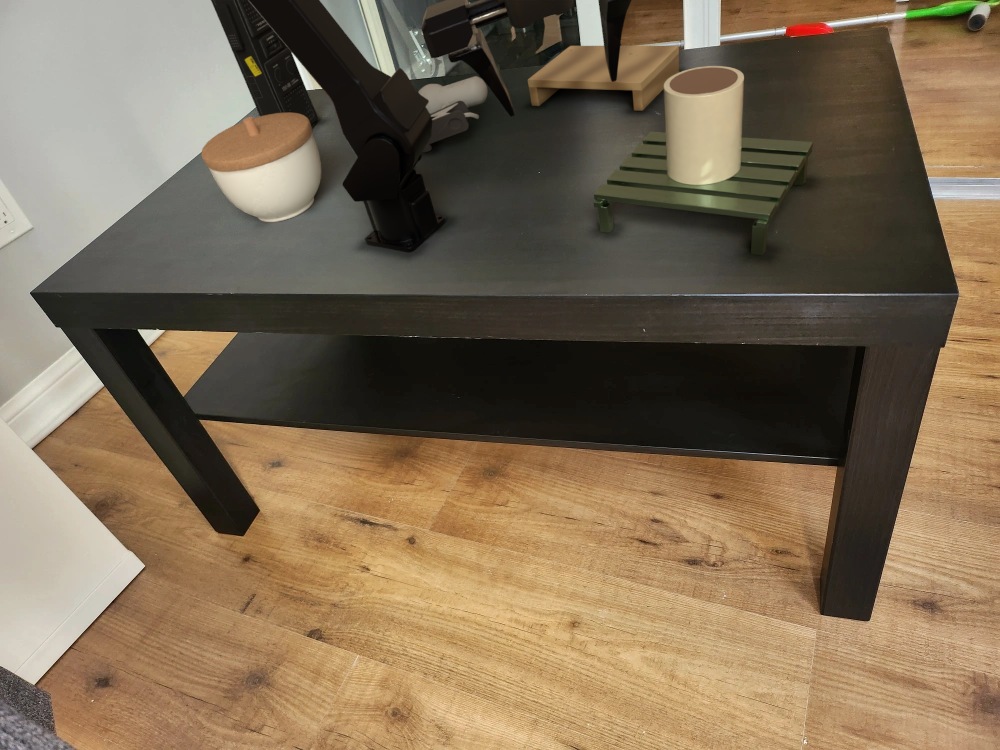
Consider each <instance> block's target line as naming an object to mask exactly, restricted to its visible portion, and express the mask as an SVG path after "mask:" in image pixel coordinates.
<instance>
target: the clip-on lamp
mask: <svg viewBox="0 0 1000 750" xmlns="http://www.w3.org/2000/svg"><path fill="white" fill-rule="evenodd" d="M488 91H489V90H488V85H487V84H486V83H485V81H484V80H483V79H482V78H481V77H480V76H476V75H475V76H470V77H468V78H465V79H461V80H459V81H456V82H453V83H450V84H446V85H444V86H443V85H441V84H439V83H428V84H425V85H424V86H423V87H421V88H420V89H419V90H418V93H419V94H420V95H422V96H423V97H425V98H426V99H428V101H429V103H428V104H427V105H426V108H427V110H428V111H429V113H430V115H431V118H432V121H433V123H432V135H431V137H430V139H429V142H428V143H427V145H426V146H425V148H424V150H423V151H422V153H427V152H430V151H432V148H433V146H432V145H433V143H435V142H438V141H442V140H444V139H446V138H449V137H452V136H455V135H458V134H460V133H463V132H466V131H468V129H469V126H470V124H469V121H468V120H470V118H473V119H475V120H479V118H480V115H479V114H477V113H474V112H471V111H470V110H469V109H468V108H472V107H475V106H477V105H478V106H479V105H481V104H484V103H485V101H487V100H486V99H487V97H488Z"/></svg>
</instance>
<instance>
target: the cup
mask: <svg viewBox="0 0 1000 750" xmlns="http://www.w3.org/2000/svg"><path fill="white" fill-rule="evenodd" d="M744 90H745V75H744V73H743V72H742V71H741V70H739V69H737V68H734V67H730V66H724V65H707V66H698V67H693V68H690V69H685V70H682V71H679V73H677V74H675V75H673V76H671V77H670V78H669V79H667V80H666V82H665V83H664V89H663V107H664V126H665V127H664V133H665V136H666V162H667V174H668V176H669V177H670V178H671V179H673V180H675V181H677V182H680V183H683V184H689V185H706V184H713V183H717V182H721V181H724V180H726V179H729V178H730V177H732V176H734V175H735V174H736V173H737V172H738V171H739V170H740V168H741V152H742V138H743V121H744V94H745V91H744Z"/></svg>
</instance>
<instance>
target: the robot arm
mask: <svg viewBox="0 0 1000 750" xmlns="http://www.w3.org/2000/svg"><path fill="white" fill-rule="evenodd" d="M248 1H249V2H250V3H251V4H252V6H253V7H254V8H255V9H256V10H257V12H258V13H259V14H260V15H261V16H262V17H263V19H264V20H265V21H266V22H267V23H268V25H269V26H270V27H271V28H272V29H273V31H274V32H275V33H276V34H277V35H278V37H279V38H280V39H281V40H282V41H283V43H284V44H285V45H286V46H287V47H288V49H289V50H290V51H291V52H292V55H293V57H294V58H296V60H297V61H298V62H299V63H300V64H301V66H302V67H303V68H304V69H305V70H306V72H307V73H308V74H309V75H310V76H311V78H313V81H315V82H316V83H317V84H318V86H319V87H320V88H321V90H323V92H324V93H325V94H326V95H327V96H328V98H329V99H330V101H331V102H332V104H333V108H334V111H335V113H336V117H337V120H338V123H339V126H340V129H341V133H342V135H343V138H344V139H345V140H346V142H347V144H348V146H349V147H350V149H351V150H352V152H353V153H354V155H355V157H356V159H355V160H354V162H353V165H352V166H351V168H350V169H349V171H348V173H347V174H346V176H345V178H344V180H343V181H342V187H343V189H345V191H346V192H347V194H348V195H349V196H350V198H351V199H352V200H353V201H354V202H357V203H359V202H362V203H363V205H364V207H365V211H366V213H367V217H368V219H369V222H370V224H371V228H372V230H373V231H371V233H370V234H368V235H367V236H366V237H365V238H364V241H365V243H366V244H367V245H371V246H377V247H382V248H386V249H393V250H398V251H403V252H406V253H407V252H408V253H409V252H412V251H414V250H416V249H417V248H418V247H419V246H420V245H421V244H422V243H423V242H424V241H425V240H427V239H428V238H429V237H430V236H431V235H432V234H433V233H434V232H435V231H437V229H439V228H440V227H441V226H442V225H443V224H444V223H445V222H446V217H445V215H441V214H436V211H435V208H434V205H433V201H432V198H431V193H430V191H429V190H428V189H427V187H426V183H425V181H424V177H423V173H417V170H416V169H415V168H416V166H417V165H418V163H419V162H420V161H421V160H422V159H423V150H424V148H425V146H426V145H427V143H428V142H429V139H430V137H431V135H432V123H433V121H432V118H431V115H430V113H429V111H428V110H427V108H426V105H427V104H428V103H429V101H428V99H426V98H425V97H423V96H422V95H420V94H419V93H418V92H419V90H417V89H416V88H415V86H414V85H413V83H412V81H411V79H410V77H409V76H408V74H407V72H405V70H403V68H400V67H398V68H397V69H396V70H395V72H394V73H393V74H392V75H391V76H390V75H389V74H387V73H386V72H384V71H381V70H380V69H378V68H376V67H375V66H373V65H372V64H371V63H370V62H369V61H368V60H367V59H366V58H365V56H364V55H363V53H362V52H361V51H360V50H359V48H358V47H357V46H356V45H355V43H354V42H353V41H352V40H351V38H350V37H349V35H348V34H347V33H346V32H345V31H344V29H343V28H342V27H341V25H340V24H339V22H337V21H336V19H335V18H334V17H333V15H332V14H331V12H330V11H328V9H327V8H326V7H325V5H324V4H323V2H321V0H248ZM597 2H598V8H599V17H600V25H601V32H602V41H603V46H604V50H605V58H606V63H607V67H608V71H609V75H610V79H611V81H612V82H614V81H616V80H617V72H618V63H619V54H620V46H621V44H622V35H623V30H624V24H625V21H626V15H627V13H628V10H629V8H630V5H631V3H632V0H598V1H597ZM574 3H575V2H574V0H476V1H474V2H471V3H469V0H442V1H440V2H437V3H435V4H432V5H429V6H427V7H426V10H425V12H424V14H423V16H422V17H423V18H422V23H421V27H420V28H421V32H422V36H423V39H424V42H425V45H426V48H427V50H428V52H429V53H428V54H429V56H430V58H431V59H438V58H440V57H444V56H446V55H447V58H448V60H449V62H450V63H457V62H463V63H465V64H466V65H467V66H469V67H470V68H471V69H472V70H473V71H474V72H475V73H476V74H477V75H478V77H479V78H481V79H482V80H483V81H484V82H485V84H486V86H487V88H489V90H490V91H491V92H492V93H493V95H494V97H495V98H496V100H498V102H499V103H500V105H501V106H502V108H503V109H504V110H505V111H506V113H507V114H508V116H509V117H510V118H512V117H515V110H514V107H513V102H512V100H511V97H510V96H511V95H510V93H509V91H508V88H507V87H506V84H505V81H504V79H503V77H502V75H501V72H500V70H499V67H498V65H497V63H496V61H495V59H494V56H493V54H492V51H491V49H490V47H489V45H488V42H487V41H486V38H485V35H484V33H483V31H482V29H481V28H482V27H485V26H487V25H490V24H493V23H496V22H498V21H501V20H503V19H506V18H508V20H509V23H510V26H511V27H512V28H515V29H524V28H528V27H531V26H532V24H533V23H534V22H536V21H539V20H542V19H545V18H548V17H550V16H553V15H555V16H561V15H564V14H565V13H567V12H568V11H570V10H571V9H572V8H573V7H574Z"/></svg>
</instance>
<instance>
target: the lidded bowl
mask: <svg viewBox="0 0 1000 750" xmlns="http://www.w3.org/2000/svg"><path fill="white" fill-rule="evenodd" d="M312 127H313V126H312ZM312 127H311V124H310V122H309V120H308V118H307V117H305V116H304V115H302V114H298V113H275V114H269V115H264V116H257V117H254V116H247V117H245V118H243V119H242V121H241V122H238V123H237V124H234V125H232V126H229V127H228V128H226V129H224V130H222V131H220V132H219V133H217V134H216V135H215V136H213V137H212V138H211V139H209V140H208V141H207V142H206V143H205V144H204V146H203V147H202V149H201V153H200V155H201V158H202V161H203V162H204V164H205V165H206V167H207V168H208V170H209V171H210V173H211V176H212V177H213V179H214V181H215V183H216V185H217V186H218V187H219V189H220V191H221V192H222V193H223V195H224V196H225V197H226V198H227V200H228V201H229V202H230V203H231V204H232V205H233V206H234V207H236V208H237V209H239V210H240V211H242V212H243V213H246V214H248V215H249V216H253V217H255V218H257V219H258V220H259V221H260V222H261V221H262V222H264V223H277V222H282V221H286V220H289V219H292V218H295V217H297V216H299V215H301V214H302V213H304V212H306V211H307V210H308V209H309V208H310V207H311V206H313V203H314V202H315V195H316V194H317V192H318V189H319V187H320V184H321V180H322V162H321V155H320V152H319V148H318V144H317V141H316V139H315V136H314V133H313V128H312Z"/></svg>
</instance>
